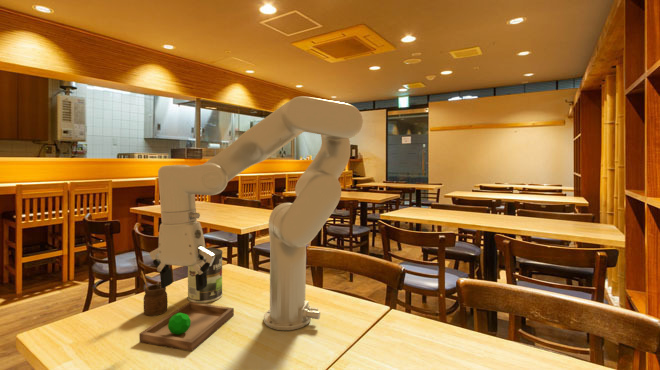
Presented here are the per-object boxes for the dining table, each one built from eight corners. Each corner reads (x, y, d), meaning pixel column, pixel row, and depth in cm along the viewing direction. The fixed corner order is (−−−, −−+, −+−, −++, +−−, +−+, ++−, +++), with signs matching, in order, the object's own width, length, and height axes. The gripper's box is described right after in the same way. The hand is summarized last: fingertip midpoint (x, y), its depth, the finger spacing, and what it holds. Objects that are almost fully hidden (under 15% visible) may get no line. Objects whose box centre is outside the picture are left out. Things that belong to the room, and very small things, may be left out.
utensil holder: (168, 313, 92) (167, 271, 91) (142, 318, 89) (141, 274, 88) (166, 305, 97) (166, 265, 97) (142, 309, 94) (141, 268, 93)
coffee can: (227, 290, 109) (227, 248, 108) (215, 304, 99) (215, 257, 98) (195, 289, 110) (195, 247, 108) (181, 303, 99) (180, 256, 98)
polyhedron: (175, 327, 84) (175, 308, 83) (194, 328, 83) (194, 310, 83) (164, 337, 79) (163, 318, 78) (184, 339, 78) (183, 319, 78)
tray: (233, 315, 92) (233, 308, 92) (191, 351, 75) (191, 342, 74) (189, 309, 95) (189, 301, 95) (139, 342, 78) (139, 333, 78)
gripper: (220, 215, 80) (224, 283, 82) (159, 213, 85) (164, 279, 86) (201, 221, 73) (206, 296, 75) (136, 219, 77) (142, 291, 79)
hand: (184, 287), depth 81 cm, fingers open, 9 cm apart
